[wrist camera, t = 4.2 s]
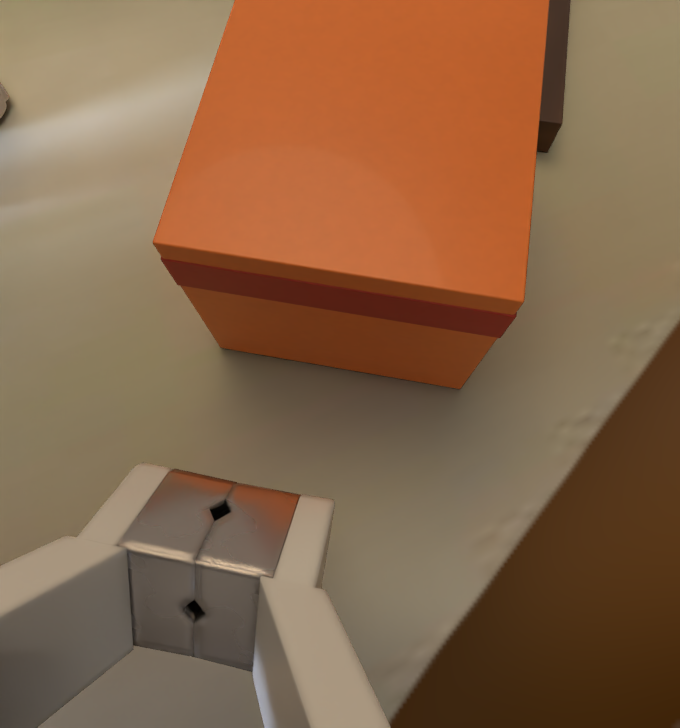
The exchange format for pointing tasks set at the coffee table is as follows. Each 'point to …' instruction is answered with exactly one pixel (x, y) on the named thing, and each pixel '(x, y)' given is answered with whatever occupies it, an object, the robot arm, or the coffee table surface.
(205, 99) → the orange lidded box
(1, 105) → the photo printer
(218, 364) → the coffee table surface
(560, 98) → the walnut bay
